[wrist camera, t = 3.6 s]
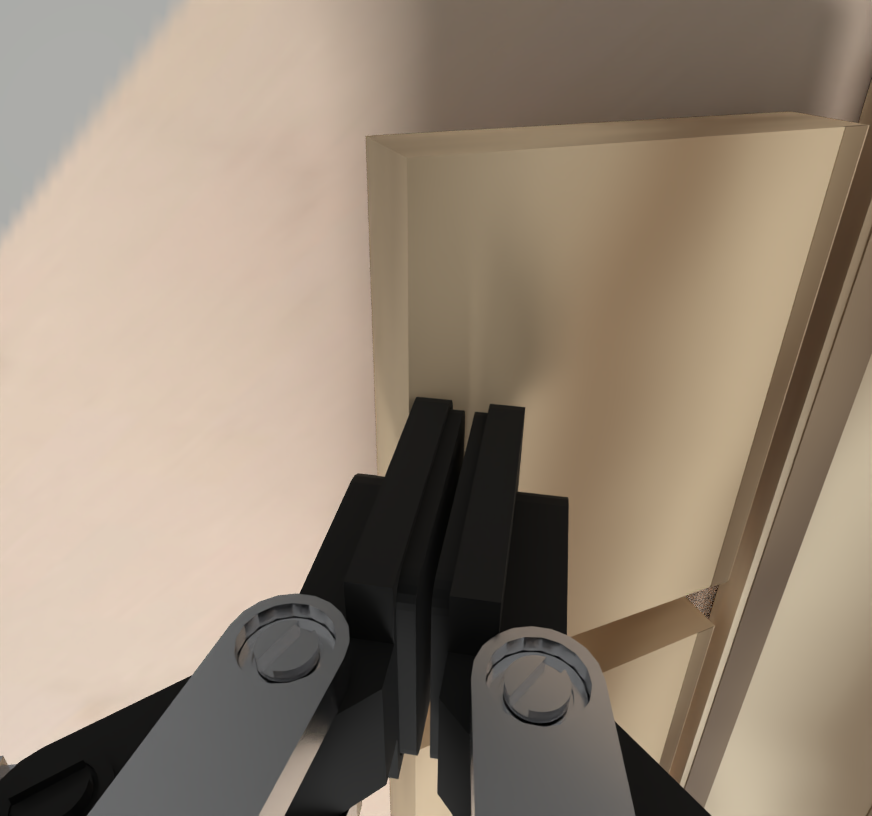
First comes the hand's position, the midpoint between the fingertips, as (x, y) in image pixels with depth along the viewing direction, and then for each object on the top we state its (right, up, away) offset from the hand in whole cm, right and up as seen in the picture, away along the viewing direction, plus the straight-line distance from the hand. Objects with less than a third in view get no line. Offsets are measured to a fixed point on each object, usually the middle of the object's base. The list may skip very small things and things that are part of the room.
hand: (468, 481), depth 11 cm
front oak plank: (+2, +1, +3) cm, 4 cm away
